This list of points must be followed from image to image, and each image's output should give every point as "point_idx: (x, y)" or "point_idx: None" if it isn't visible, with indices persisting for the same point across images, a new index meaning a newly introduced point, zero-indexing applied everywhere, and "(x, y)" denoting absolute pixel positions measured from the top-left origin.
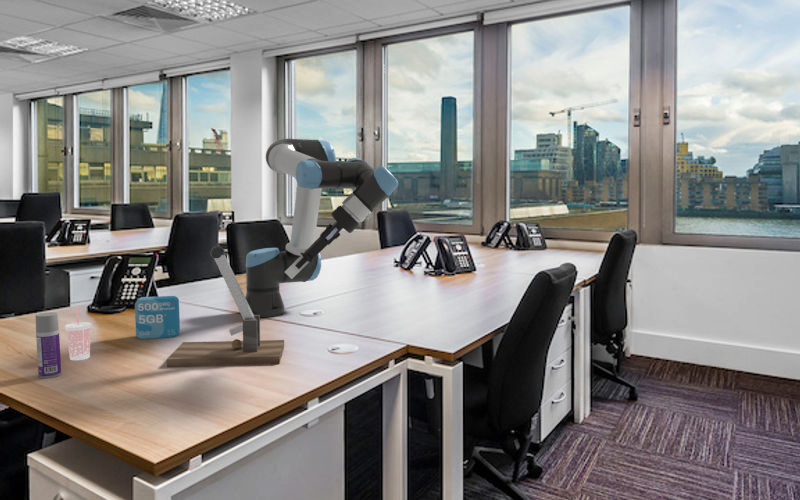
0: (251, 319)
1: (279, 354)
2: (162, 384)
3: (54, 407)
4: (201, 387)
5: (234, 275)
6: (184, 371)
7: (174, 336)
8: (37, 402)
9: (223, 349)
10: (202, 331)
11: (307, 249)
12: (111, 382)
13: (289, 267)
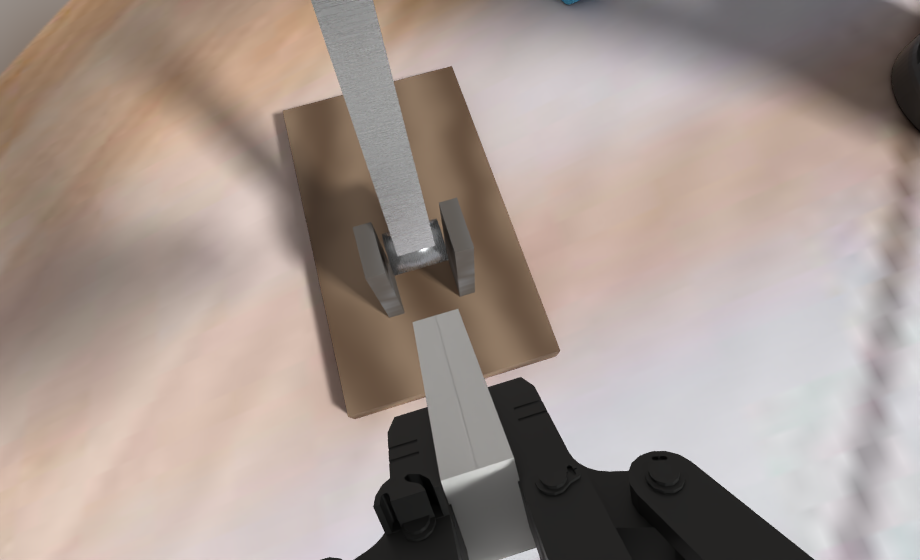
0: (389, 248)
1: (370, 408)
2: (154, 185)
3: (21, 71)
4: (128, 286)
5: (373, 28)
6: (257, 182)
7: (564, 2)
8: (53, 29)
9: None
10: (647, 37)
11: (652, 508)
12: (170, 77)
13: (419, 353)
